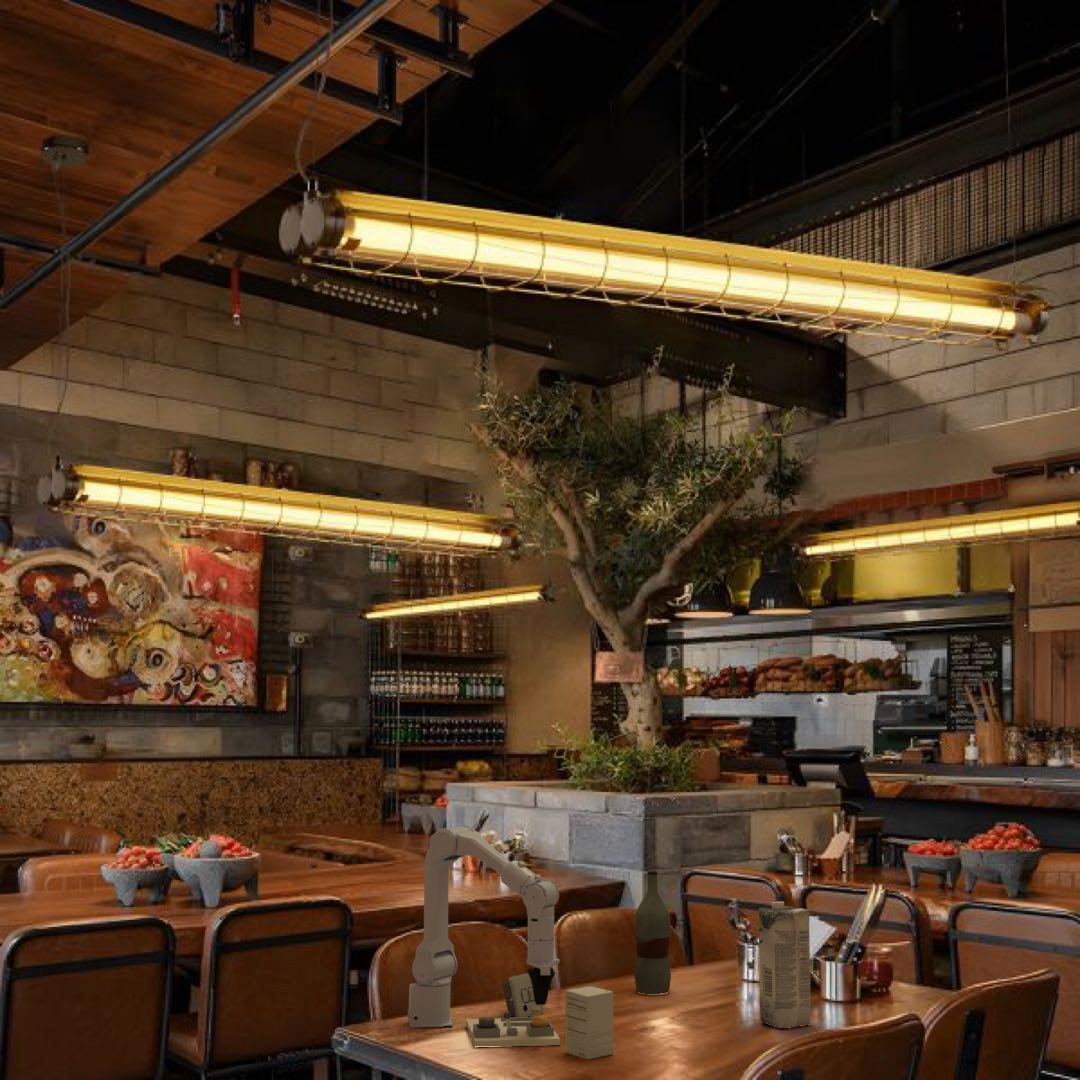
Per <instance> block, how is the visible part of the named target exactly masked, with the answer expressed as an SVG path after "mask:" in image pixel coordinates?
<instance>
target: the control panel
mask: <svg viewBox="0 0 1080 1080" xmlns="http://www.w3.org/2000/svg"><path fill="white" fill-rule="evenodd" d="M510 1022H511V1028H512V1030H508V1028H507V1023H506V1019H505V1018H504V1017H500V1018H495V1027H494V1028H480V1027H479V1018H469V1019H467V1018H466V1019H465V1027H466V1026H467V1027H466V1029H467V1028H468V1030H467V1032H468V1031H469V1033H470V1035H469V1037H470V1036H471V1038H472V1040H471V1042H472V1041H473V1043H472V1045H473V1044H474V1045H473V1047H474V1046H536V1045H560V1046H561V1039H560V1036H559V1035H558V1034H557V1032H556V1030H555V1028H554V1027H555V1026H553V1024H552V1021H550V1020H548V1026H546V1027H534V1026H532V1022H531V1020H530V1016H529V1017H516V1016H513V1017H510ZM469 1033H468V1034H469ZM471 1038H470V1039H471Z"/></svg>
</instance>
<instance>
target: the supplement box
mask: <svg viewBox="0 0 1080 1080" xmlns="http://www.w3.org/2000/svg"><path fill="white" fill-rule="evenodd" d="M564 999H565V1001H564V1002H565V1004H564V1005H565V1009H564V1010H565V1014H564V1017H565V1020H564V1022H565V1026H564V1028H565V1033H564V1034H565V1036H564V1037H565V1038H564V1039H565V1043H564V1044H565V1045H564V1046H565V1047H564V1049H565V1053H566V1052H567V1053H566V1054H568V1053H570V1054H569V1055H571V1054H573V1055H572V1056H574V1055H575V1056H574V1057H577V1056H578V1057H577V1058H580V1057H581V1059H584V1060H587V1061H588V1060H592V1059H596V1058H602V1057H606V1056H607V1057H608V1056H611V1055H614V1053H615V1052H614V1050H615V1048H614V1045H615V1044H614V1042H615V1041H614V1039H615V1038H614V991H611V990H607V989H604V988H599V987H595V986H593V985H592V986H585V987H581V988H580V987H579V988H573V989H567V990H565V998H564Z"/></svg>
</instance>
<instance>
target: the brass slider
mask: <svg viewBox="0 0 1080 1080" xmlns="http://www.w3.org/2000/svg"><path fill="white" fill-rule="evenodd" d="M534 1016H542V1013H541V1008H540V1007H531V1011H530V1016H529V1017H530V1020H531V1022H532V1017H534Z"/></svg>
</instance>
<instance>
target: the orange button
mask: <svg viewBox="0 0 1080 1080" xmlns="http://www.w3.org/2000/svg"><path fill="white" fill-rule="evenodd" d="M548 1021H549V1017H548V1016H546V1015H541V1016H534V1017H532V1026H534V1027H546V1026H548Z"/></svg>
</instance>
